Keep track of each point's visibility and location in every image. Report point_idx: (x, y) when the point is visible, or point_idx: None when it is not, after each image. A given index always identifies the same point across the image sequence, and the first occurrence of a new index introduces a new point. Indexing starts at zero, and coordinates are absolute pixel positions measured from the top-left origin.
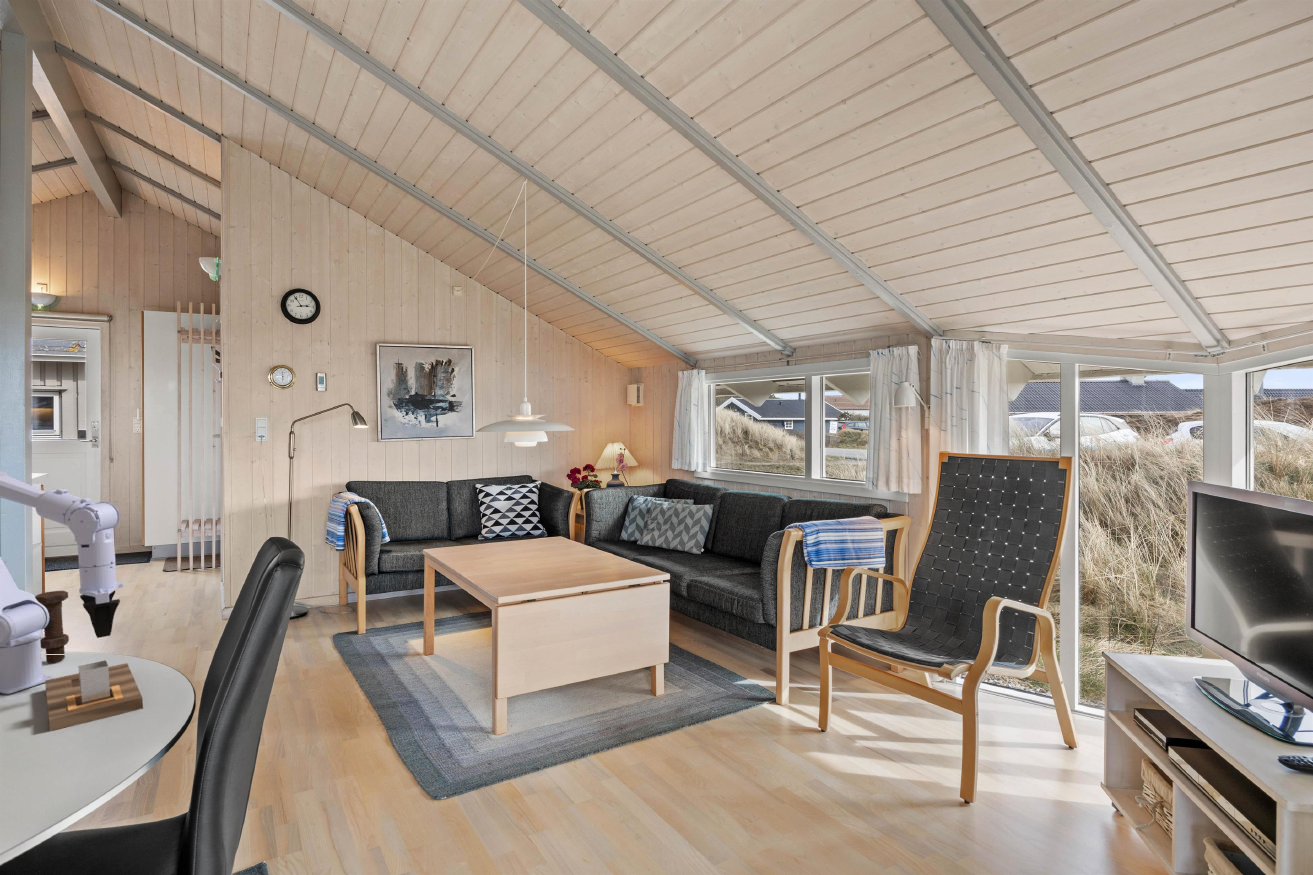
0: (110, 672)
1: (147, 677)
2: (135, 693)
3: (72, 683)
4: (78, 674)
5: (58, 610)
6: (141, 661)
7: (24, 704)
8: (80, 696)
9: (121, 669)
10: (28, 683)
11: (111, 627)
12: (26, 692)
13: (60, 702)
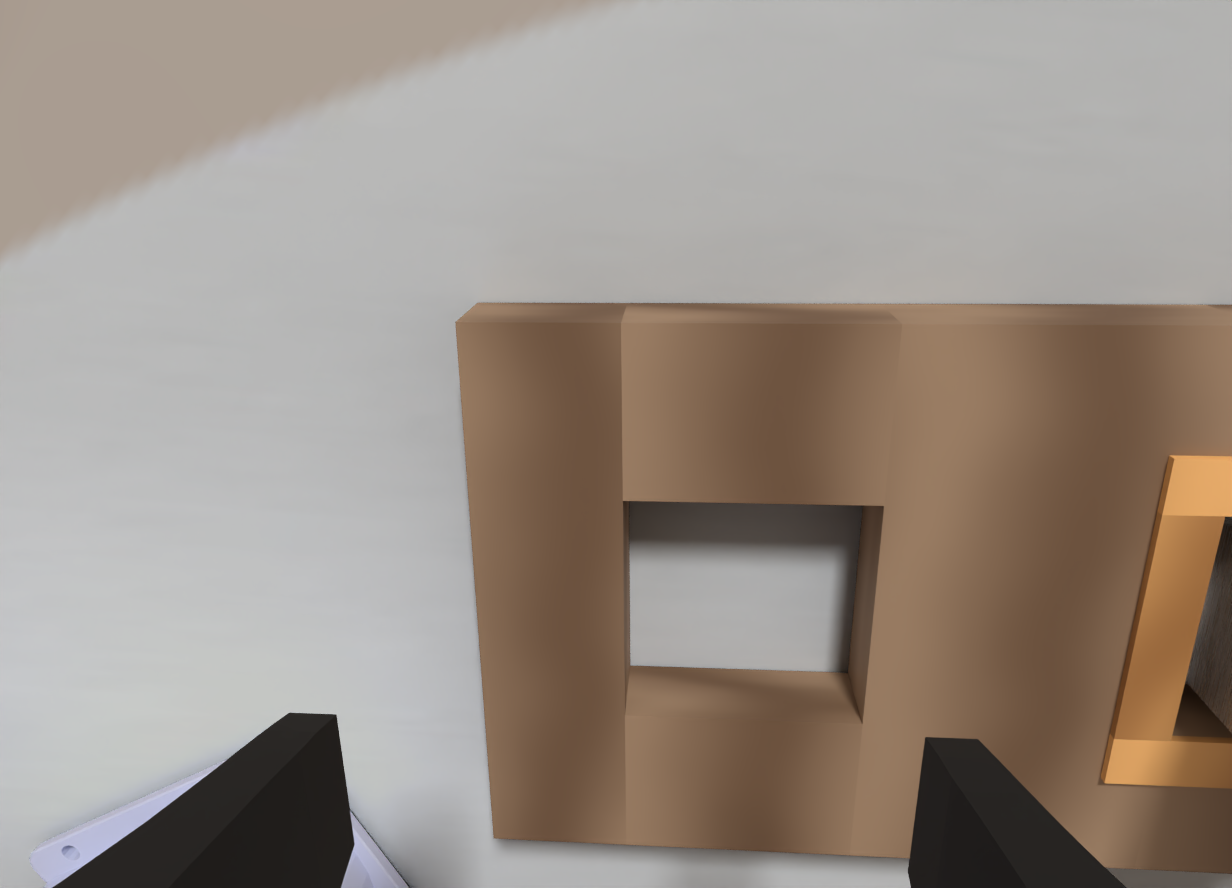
0: (662, 470)
1: (773, 174)
2: None
3: (629, 688)
4: (514, 664)
5: None
6: (196, 164)
7: (724, 883)
8: (1219, 714)
9: (642, 385)
10: (359, 871)
11: (1057, 822)
12: (463, 860)
13: (1181, 810)
